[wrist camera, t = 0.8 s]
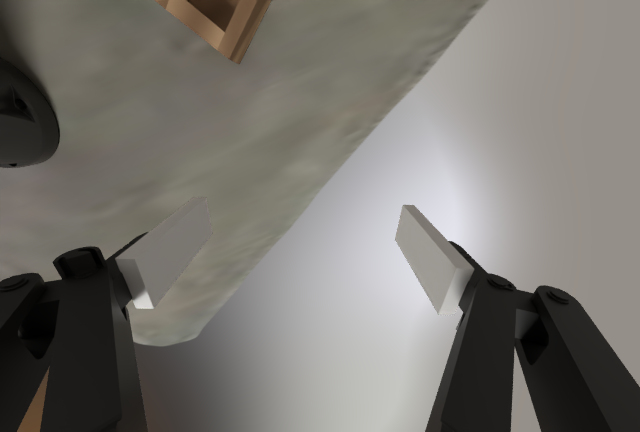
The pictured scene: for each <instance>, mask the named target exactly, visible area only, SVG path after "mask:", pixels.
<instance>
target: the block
mask: <svg viewBox="0 0 640 432" xmlns="http://www.w3.org/2000/svg"><path fill="white" fill-rule="evenodd" d="M155 1H156V2H157V3H159V4H160V5H161V6H163V7H164V8H165V9H166V10H168V11H169V12H170V13H171V14H173V15H174V16H175V17H176V18H178V19H179V20H180V21H181V22H183V23H184V24H185V25H186V26H188V27H189V28H190V29H191V30H193V31H194V32H195V33H197V34H198V35H199V36H200V37H202V38H203V39H204V40H205V41H207V42H208V43H209V44H210V45H212V46H213V47H214V48H215V49H217V50H218V51H219V52H220V53H222V54H223V55H224V56H226V57H227V58H228V59H230V60H232V61H234V62H236V63H238V64H240V62H241V60H242V58H243V56H244V54H245V52H246V50H247V48H248V46H249V44H250V42H251V40H252V38H253V36H254V34H255V32H256V30H257V28H258V26H259V24H260V22H261V20H262V18H263V16H264V14H265V12H266V10H267V8H268V6H269V4H270V2H271V0H155Z"/></svg>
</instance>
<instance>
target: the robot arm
mask: <svg viewBox="0 0 640 432" xmlns="http://www.w3.org/2000/svg"><path fill="white" fill-rule="evenodd" d="M58 139H59V133H58V127H57V123H56V119H55V117H54V114H53V112H52V110H51V108H50V106H49V104H48V103H47V101H46V100H45V98H44V97H43V95H42V94H41V93H40V91H39V90H38V89H37V88H36V87H35V85H34V84H33V83H32V82H31V81H30V80H29V79H28V78H27V77H26V76H25V75H23V74H22V73H21V72H20V71H19V70H17V69H16V68H15V67H13V66H12V65H11V64H9V63H8V62H6V61H4V60H3V59H1V58H0V167H3V168H18V167H25V166H29V165H34V164H38V163H42V162H44V161H46V160H48V159H49V158H50V157H51V156H52V155H53V154H54V152H55V151H56V148H57V145H58ZM212 234H213V232H212V227H211V221H210V216H209V210H208V205H207V199H206V197H193V198H192V199H191V200H190V201H188V202H187V203H186V204H184V205H183V206H182V207H181V208H179V209H178V210H177V211H175V212H174V213H173V214H172V215H170V216H169V217H168V218H166V219H165V220H164V221H163V222H161V223H160V224H159V225H157V226H156V227H155V228H154V229H152V230H151V231H150V232H146V233H144V234H142V235H140V236H138V237H136V238H135V239H133V240H132V241H131V242H129V244H127V245H125V246H124V247H123V249H120V250H119V251H117V252H116V253H115V254H113V255H112V256H111V257H109V258H108V259H107V260H105V259H104V257H103V255H102V253H101V250H100V249H99V248H98V247H83V248H78V249H74V250H71V251H68V252H66V253H64V254H62V255H60V256H59V257H57V258H56V259H55V260H54V261H53V264H54V266H55V268H56V269H57V271H58V273H59V275H60V276H61V278H62V280H55V281H49V282H44V280H43V279H42V277H41V276H40V275H39V274H38V273H27V274H21V275H16V276H12V277H10V278H7V279H4V280H2V281H1V282H0V432H17V430H18V428H19V426H20V424H21V422H22V420H23V418H24V416H25V414H26V412H27V410H28V408H29V406H30V404H31V402H32V400H33V398H34V396H35V394H36V392H37V390H38V388H39V386H40V384H41V382H42V380H43V378H44V376H45V374H46V372H47V370H48V368H49V366H50V368H49V375H48V382H47V388H46V395H45V402H44V408H43V415H42V422H41V429H40V432H148V427H147V421H146V416H145V410H144V404H143V397H142V392H141V386H140V380H139V373H138V367H137V362H136V356H135V349H134V344H133V337H132V331H131V326H130V320H129V314H128V310H127V308H126V305H127V304H128V302H129V301H130V300H131V299H132V300H133V302H134V304H135V307H136V308H142V309H154V308H155V306H156V305H157V304H158V303H159V301H160V300H161V299H162V297H163V296H164V295H165V294H166V292H167V291H168V290H169V289H170V287H171V286H172V285H173V283H174V282H175V281H176V280H177V278H178V277H179V276H180V275H181V273H182V272H183V271H184V269H185V268H186V267H187V266H188V264H189V263H190V262H191V261H192V259H193V258H194V257H195V255H196V254H197V253H198V252H199V250H200V249H201V248H202V246H203V245H204V244H205V243H206V241H207V240H208V239H209V238H210V236H211V235H212ZM395 240H396V242H397V243H398V245H399V247H400V249H401V251H402V252H403V254H404V256H405V258H406V259H407V261H408V263H409V265H410V266H411V268H412V270H413V271H414V273H415V275H416V277H417V278H418V280H419V282H420V283H421V285H422V287H423V289H424V291H425V292H426V294H427V296H428V297H429V299H430V301H431V303H432V304H433V306H434V308H435V310H436V311H437V313H438V315H455V312H456V310H457V308H458V306H460V308H461V310H462V311H463V315H462V317H461V319H460V321H459V323H458V326H457V328H456V330H457V332H456V335H455V339H454V342H453V345H452V348H451V351H450V354H449V358H448V361H447V364H446V367H445V370H444V373H443V377H442V380H441V383H440V386H439V389H438V392H437V396H436V399H435V402H434V405H433V408H432V411H431V415H430V418H429V421H428V424H427V427H426V430H425V432H510V431H511V410H512V390H513V368H514V347H515V348H516V351H517V355H518V358H519V361H520V365H521V367H522V371H523V374H524V377H525V381H526V384H527V387H528V390H529V393H530V396H531V400H532V403H533V406H534V409H535V413H536V416H537V419H538V422H539V425H540V429H541V432H640V387H639V386H638V384H637V383H636V381H635V380H634V379H633V377H632V376H631V374H630V373H629V372H628V370H627V369H626V368H625V366H624V365H623V363H622V362H621V360H620V359H619V358H618V356H617V355H616V353H615V352H614V351H613V349H612V348H611V346H610V345H609V344H608V342H607V341H606V339H605V338H604V337H603V335H602V334H601V332H600V331H599V330H598V328H597V327H596V325H595V324H594V322H593V321H592V320H591V318H590V317H589V316H588V314H587V313H586V312H585V310H584V308H583V307H582V306H581V304H580V303H579V302H578V301H577V300H576V299H575V298H574V297H572V296H571V295H569V294H568V293H566V292H565V291H562V290H560V289H557V288H554V287H550V286H539V287H538V288H537V289H536V291H535V292H534V293H529V292H525V291H520V290H517V289H516V287H515V286H514V285H513V284H512V283H511V282H509V281H508V280H507V279H505V278H503V277H500V276H498V275H494V274H488V273H487V272H486V271H485V270H484V269H483V268H482V267H481V266H480V265H479V264H478V263H477V262H475V260H474V259H472V257H471V256H470V255H469V254H467V252H466V251H465V250H464V249H463V248H462V247H461V246H459V245H457V244H456V243H454V242H452V241H447V240H446V239H445V237H443V235H442V234H441V233H440V232H439V231H438V230H437V229H436V228H435V227H434V226H433V225H432V224H431V223H430V222H429V221H428V220H427V219H426V218H425V216H424V215H423V214H422V213H421V212H420V211H419V210H418V209H417V208H416V207H415V206H414V205H403V207H402V211H401V216H400V220H399V224H398V229H397V233H396V237H395Z"/></svg>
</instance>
